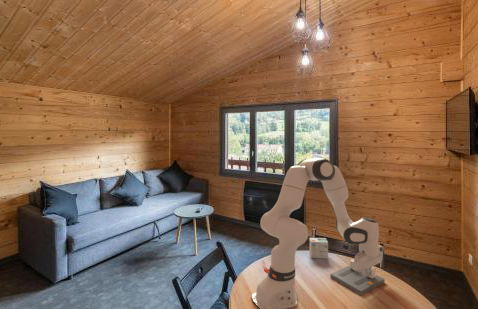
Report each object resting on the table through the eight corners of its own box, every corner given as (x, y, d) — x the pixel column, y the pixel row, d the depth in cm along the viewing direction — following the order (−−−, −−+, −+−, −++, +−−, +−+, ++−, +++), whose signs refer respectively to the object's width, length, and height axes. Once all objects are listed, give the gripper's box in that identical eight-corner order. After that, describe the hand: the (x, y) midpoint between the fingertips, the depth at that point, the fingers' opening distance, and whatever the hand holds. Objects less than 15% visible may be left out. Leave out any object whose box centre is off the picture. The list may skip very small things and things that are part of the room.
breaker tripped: (371, 278, 132) (372, 270, 132) (365, 275, 135) (365, 267, 135) (375, 277, 134) (375, 268, 133) (368, 273, 137) (369, 265, 136)
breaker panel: (361, 295, 122) (361, 290, 122) (330, 277, 138) (330, 273, 138) (384, 282, 133) (384, 278, 132) (353, 267, 148) (353, 263, 148)
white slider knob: (355, 270, 140) (355, 263, 139) (350, 268, 142) (350, 260, 142) (359, 269, 141) (359, 261, 141) (353, 266, 144) (353, 259, 144)
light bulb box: (325, 253, 164) (326, 237, 163) (328, 259, 158) (328, 242, 157) (308, 253, 165) (309, 237, 164) (310, 258, 159) (311, 241, 158)
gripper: (361, 256, 123) (360, 283, 125) (385, 246, 134) (384, 271, 135) (350, 251, 129) (349, 277, 130) (374, 242, 139) (372, 266, 140)
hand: (367, 274), depth 133 cm, fingers closed
